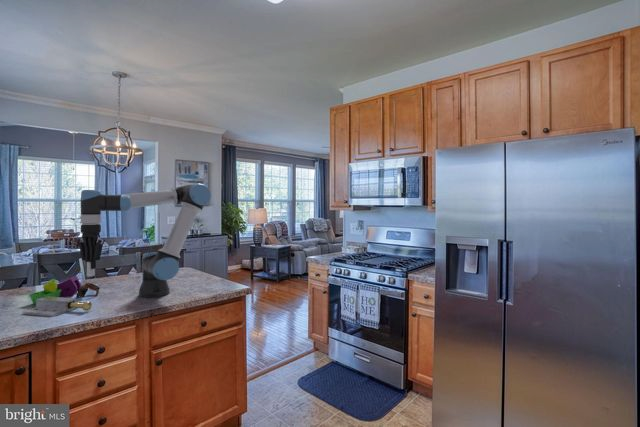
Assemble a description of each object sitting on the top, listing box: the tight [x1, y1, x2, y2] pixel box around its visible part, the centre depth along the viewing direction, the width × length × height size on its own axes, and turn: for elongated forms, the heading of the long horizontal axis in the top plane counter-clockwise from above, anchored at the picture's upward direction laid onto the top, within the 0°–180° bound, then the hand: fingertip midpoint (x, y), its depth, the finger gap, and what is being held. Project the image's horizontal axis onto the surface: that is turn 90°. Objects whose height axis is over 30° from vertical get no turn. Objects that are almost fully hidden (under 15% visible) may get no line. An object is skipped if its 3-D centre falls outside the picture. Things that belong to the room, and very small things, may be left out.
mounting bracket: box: [57, 275, 82, 298], centre depth 176 cm, size 10×8×18 cm
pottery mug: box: [75, 282, 100, 299], centre depth 174 cm, size 12×10×8 cm
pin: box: [68, 301, 93, 311], centre depth 151 cm, size 18×4×4 cm, turn 80°
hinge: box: [21, 296, 86, 318], centre depth 152 cm, size 16×18×5 cm
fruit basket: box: [29, 278, 61, 305], centre depth 164 cm, size 11×9×11 cm
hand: (90, 275), depth 149 cm, fingers closed
